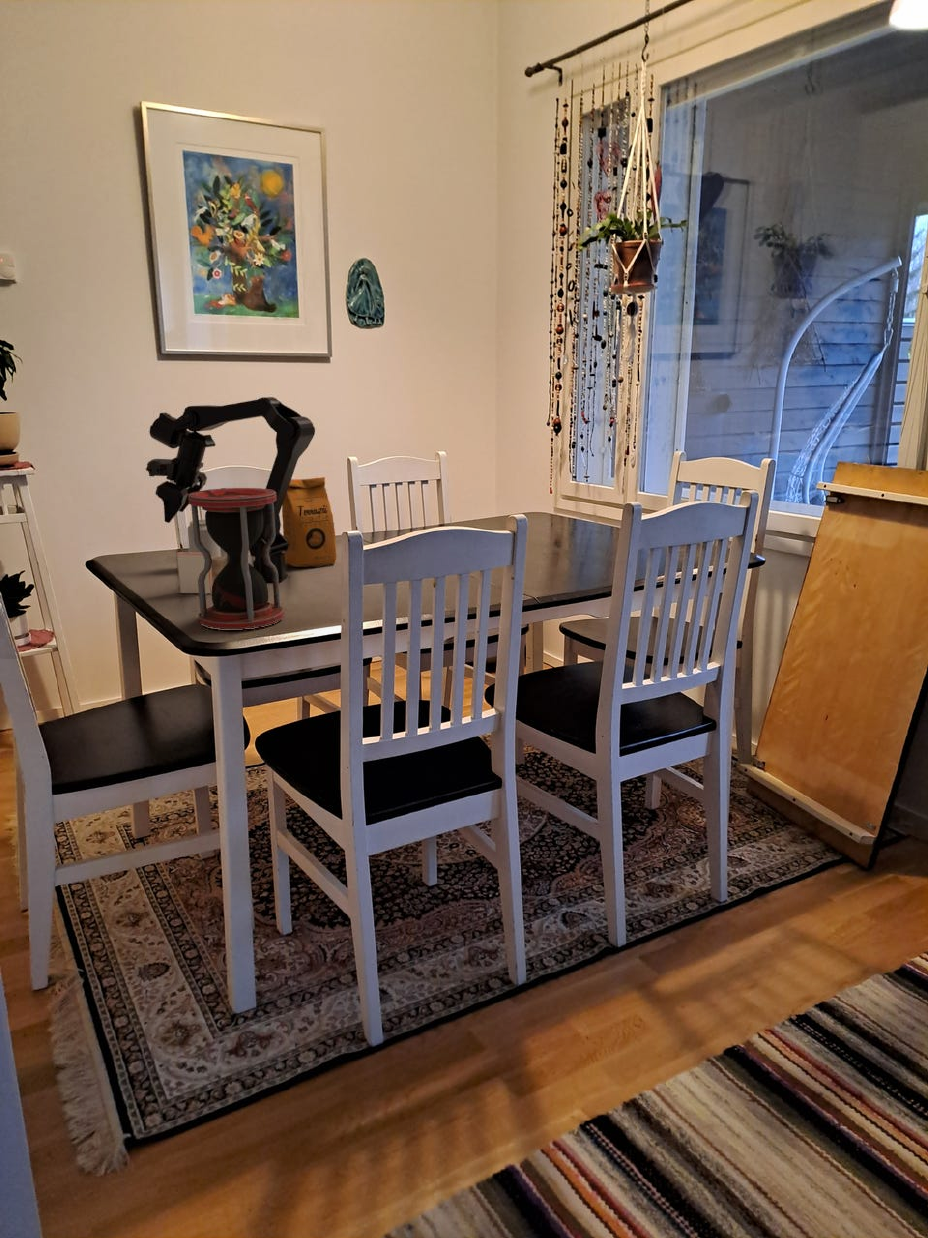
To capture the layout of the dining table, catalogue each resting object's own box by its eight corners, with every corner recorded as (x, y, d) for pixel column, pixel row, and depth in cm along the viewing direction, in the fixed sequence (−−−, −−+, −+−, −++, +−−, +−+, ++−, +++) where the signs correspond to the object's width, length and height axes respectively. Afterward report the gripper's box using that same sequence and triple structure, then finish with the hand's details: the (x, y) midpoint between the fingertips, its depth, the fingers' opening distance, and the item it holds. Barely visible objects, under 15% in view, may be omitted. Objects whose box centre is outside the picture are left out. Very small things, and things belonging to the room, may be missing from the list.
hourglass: (270, 605, 178) (263, 485, 171) (294, 624, 164) (286, 494, 158) (191, 615, 171) (180, 490, 164) (209, 636, 157) (197, 500, 150)
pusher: (229, 582, 199) (227, 556, 198) (223, 586, 195) (221, 560, 194) (213, 581, 199) (211, 556, 198) (206, 585, 196) (204, 560, 194)
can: (184, 569, 212) (179, 521, 209) (206, 564, 218) (202, 517, 215) (207, 572, 209) (202, 523, 205) (228, 566, 215) (224, 519, 212)
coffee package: (340, 566, 215) (336, 478, 209) (292, 571, 210) (286, 481, 204) (328, 559, 224) (324, 474, 218) (281, 563, 219) (276, 477, 213)
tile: (213, 592, 189) (210, 552, 187) (210, 594, 188) (207, 554, 185) (183, 591, 190) (179, 552, 187) (179, 593, 188) (176, 553, 186)
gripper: (170, 436, 208) (155, 494, 214) (141, 452, 191) (125, 515, 197) (214, 453, 209) (198, 510, 215) (189, 471, 192) (172, 532, 198)
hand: (173, 516), depth 206 cm, fingers open, 9 cm apart
